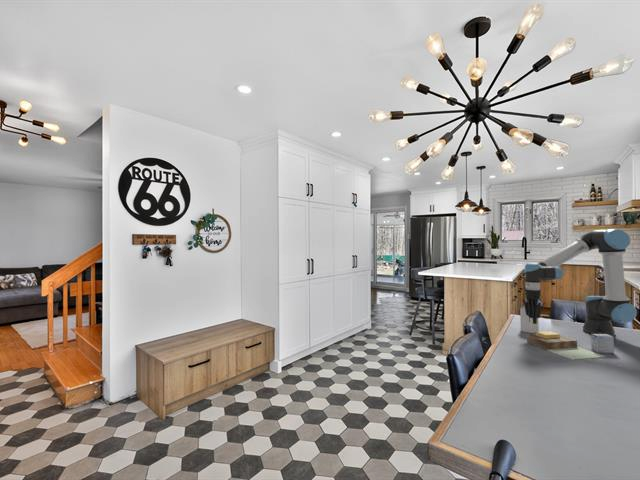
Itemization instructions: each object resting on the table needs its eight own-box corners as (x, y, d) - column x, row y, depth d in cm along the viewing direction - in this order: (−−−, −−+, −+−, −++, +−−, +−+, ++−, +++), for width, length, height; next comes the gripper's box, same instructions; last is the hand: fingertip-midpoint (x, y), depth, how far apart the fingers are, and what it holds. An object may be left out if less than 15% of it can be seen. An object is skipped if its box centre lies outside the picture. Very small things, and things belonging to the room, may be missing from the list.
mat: (578, 347, 170) (578, 347, 170) (606, 357, 156) (606, 356, 156) (546, 350, 167) (546, 349, 167) (571, 360, 153) (571, 359, 153)
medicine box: (607, 350, 166) (606, 333, 166) (614, 353, 161) (613, 336, 161) (591, 349, 167) (590, 333, 167) (597, 352, 162) (597, 336, 162)
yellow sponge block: (550, 334, 181) (550, 331, 181) (559, 337, 175) (559, 334, 175) (536, 335, 179) (536, 332, 179) (545, 338, 173) (545, 335, 173)
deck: (554, 340, 184) (553, 333, 184) (577, 347, 170) (577, 340, 170) (527, 341, 181) (526, 335, 181) (548, 350, 167) (548, 342, 167)
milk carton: (520, 330, 203) (520, 301, 203) (527, 329, 206) (526, 300, 206) (531, 333, 197) (531, 303, 197) (538, 332, 200) (538, 302, 200)
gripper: (518, 287, 193) (518, 326, 193) (536, 291, 180) (536, 332, 180) (529, 287, 194) (529, 325, 194) (547, 290, 181) (548, 331, 181)
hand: (533, 328), depth 187 cm, fingers closed
